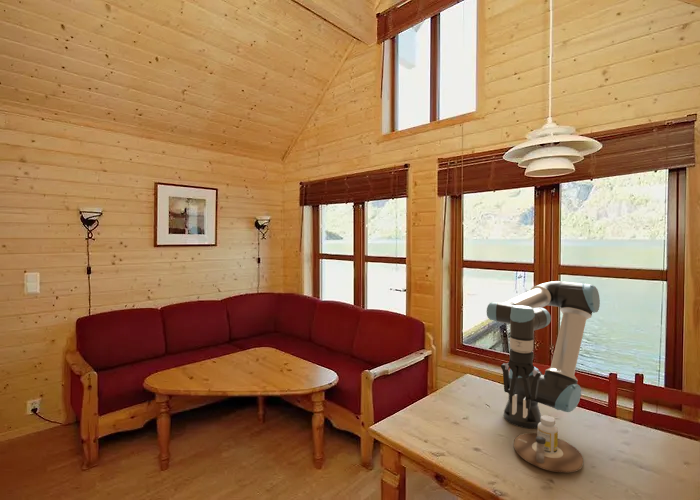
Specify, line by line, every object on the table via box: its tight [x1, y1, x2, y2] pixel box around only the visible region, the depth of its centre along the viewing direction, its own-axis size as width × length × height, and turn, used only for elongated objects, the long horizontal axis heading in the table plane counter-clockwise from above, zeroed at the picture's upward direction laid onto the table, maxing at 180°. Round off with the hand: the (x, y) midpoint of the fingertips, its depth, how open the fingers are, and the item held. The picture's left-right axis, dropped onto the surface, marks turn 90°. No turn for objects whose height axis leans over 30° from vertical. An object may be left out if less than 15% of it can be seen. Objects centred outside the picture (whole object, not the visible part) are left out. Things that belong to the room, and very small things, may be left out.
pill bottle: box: [536, 414, 559, 454], centre depth 131 cm, size 6×6×12 cm
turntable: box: [513, 432, 584, 474], centre depth 131 cm, size 22×22×9 cm
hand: (519, 414), depth 129 cm, fingers open, 3 cm apart
